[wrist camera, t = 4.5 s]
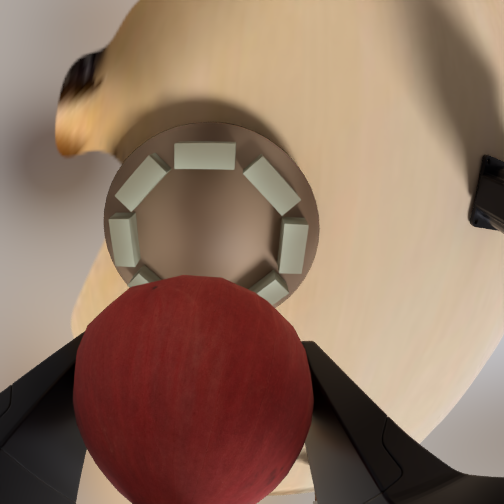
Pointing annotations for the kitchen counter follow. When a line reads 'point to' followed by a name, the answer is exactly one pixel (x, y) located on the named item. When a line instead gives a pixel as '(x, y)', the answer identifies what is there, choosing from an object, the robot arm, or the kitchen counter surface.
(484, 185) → the robot arm
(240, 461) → the pomegranate
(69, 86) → the kitchen counter surface
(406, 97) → the kitchen counter surface
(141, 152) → the display stand
